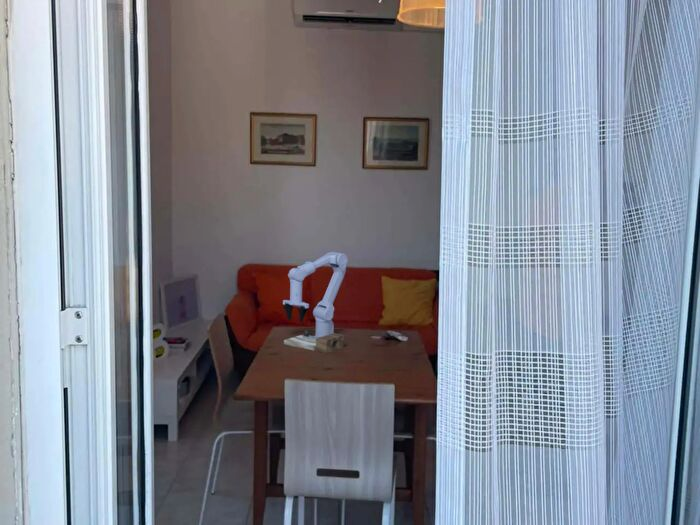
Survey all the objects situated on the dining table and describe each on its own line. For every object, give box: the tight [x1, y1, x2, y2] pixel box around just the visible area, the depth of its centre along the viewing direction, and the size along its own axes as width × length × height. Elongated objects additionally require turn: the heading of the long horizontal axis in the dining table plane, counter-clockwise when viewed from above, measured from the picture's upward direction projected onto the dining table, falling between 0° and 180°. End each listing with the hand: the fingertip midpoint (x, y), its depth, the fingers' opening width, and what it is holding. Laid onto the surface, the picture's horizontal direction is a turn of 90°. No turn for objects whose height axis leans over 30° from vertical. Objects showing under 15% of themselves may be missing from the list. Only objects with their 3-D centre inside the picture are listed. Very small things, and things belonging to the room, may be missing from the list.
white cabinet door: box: [283, 332, 345, 354], centre depth 288 cm, size 14×25×6 cm, turn 56°
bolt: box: [303, 329, 319, 343], centre depth 288 cm, size 3×10×4 cm, turn 56°
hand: (295, 320), depth 293 cm, fingers open, 7 cm apart
